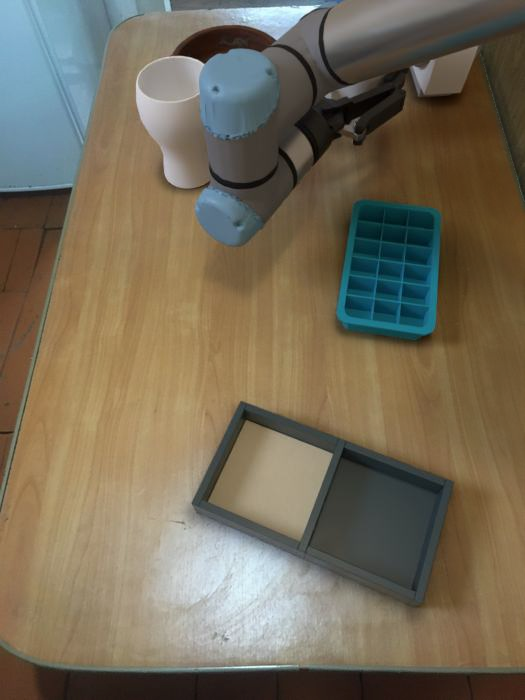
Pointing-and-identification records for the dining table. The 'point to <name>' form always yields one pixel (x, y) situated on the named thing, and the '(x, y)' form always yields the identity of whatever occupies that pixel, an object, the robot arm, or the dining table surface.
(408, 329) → the ice cube tray
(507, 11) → the robot arm
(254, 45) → the dish
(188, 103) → the cup
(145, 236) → the dining table surface
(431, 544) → the divided tray
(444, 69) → the alarm clock
